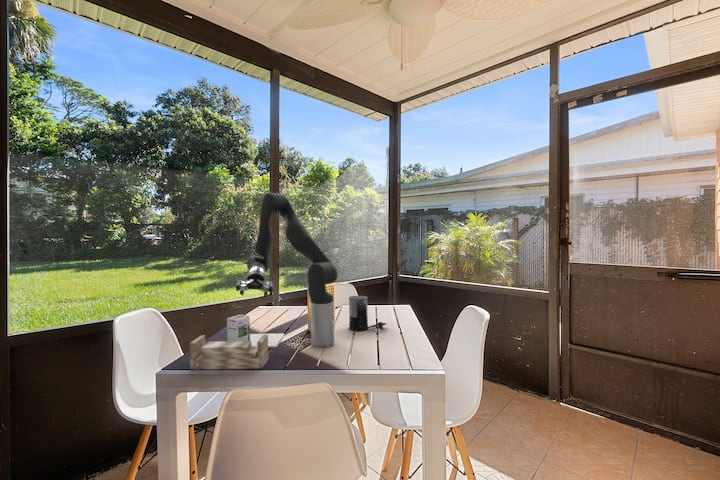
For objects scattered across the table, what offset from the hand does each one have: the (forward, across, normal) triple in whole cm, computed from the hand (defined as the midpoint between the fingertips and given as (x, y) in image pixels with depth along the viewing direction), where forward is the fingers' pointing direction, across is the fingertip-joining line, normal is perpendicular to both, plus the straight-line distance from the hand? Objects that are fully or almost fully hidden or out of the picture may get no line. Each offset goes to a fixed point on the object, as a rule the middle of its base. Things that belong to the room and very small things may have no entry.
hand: (253, 293), depth 132 cm
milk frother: (-8, +52, +19) cm, 56 cm away
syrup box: (+12, -3, +20) cm, 23 cm away
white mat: (-2, +5, +22) cm, 23 cm away
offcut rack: (+20, -5, +18) cm, 27 cm away
